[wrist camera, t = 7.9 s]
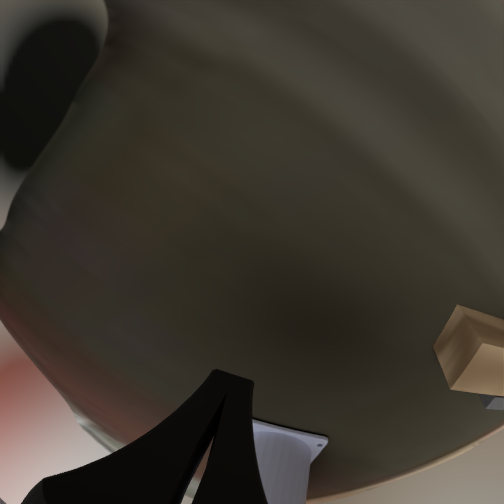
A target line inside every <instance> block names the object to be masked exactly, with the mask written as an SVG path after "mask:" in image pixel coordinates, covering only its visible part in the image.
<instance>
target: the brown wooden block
mask: <svg viewBox="0 0 504 504" xmlns="http://www.w3.org/2000/svg"><path fill="white" fill-rule="evenodd" d="M433 348H434V351H435V353H436V355H437V358H438V360H439V363H440V365H441V367H442V370H443V372H444V375H445V377H446V380H447V382H448V385H449V388H450V389H452V390H458V391H465V392H472V393H480V394H488V395H496V396H504V320H503V319H500V318H497V317H494V316H491V315H488V314H485V313H482V312H479V311H476V310H473V309H470V308H467V307H464V306H461V305H458V304H457V306H456V308H455V310H454V311H453V313H452V315H451V317H450V319H449V320H448V322H447V324H446V326H445V327H444V329H443V331H442V332H441V334H440V336H439V337H438V339H437V341H436V342H435V344H434V346H433Z"/></svg>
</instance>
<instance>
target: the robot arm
mask: <svg viewBox="0 0 504 504" xmlns="http://www.w3.org/2000/svg"><path fill="white" fill-rule="evenodd" d="M253 388H254V383H253V381H252V380H249V379H246V378H243V377H239V376H236V375H233V374H230V373H227V372H224V371H221V370H218V369H215V370H212V372H211V373H210V375H209V376H208V377H207V379H206V380H205V381H204V382H203V384H202V385H201V386H200V387H199V388H198V389H197V390H196V391H195V392H194V393H193V395H192V396H190V397H189V398H188V399H187V400H186V401H185V402H184V403H183V404H182V405H181V406H180V407H179V408H178V409H177V410H176V411H174V412H173V413H172V414H171V415H170V416H168V417H167V418H166V419H165V420H163V421H162V422H161V423H160V424H158V425H157V426H156V427H154V428H153V429H152V430H150V431H149V432H147V433H146V434H144V435H143V436H141V437H140V438H138V439H137V440H135V441H133V442H132V443H130V444H128V445H126V446H125V447H123V448H121V449H119V450H117V451H116V452H114V453H112V454H110V455H108V456H106V457H103V458H101V459H99V460H96V461H94V462H92V463H89V464H87V465H84V466H82V467H79V468H77V469H74V470H71V471H67V472H64V473H60V474H57V475H53V476H50V477H46V478H43V479H42V480H41V481H40V482H39V483H38V484H37V485H35V486H34V487H33V488H32V489H31V491H30V492H29V493H28V495H27V496H26V497H25V499H24V500H23V502H22V503H21V504H181V502H182V499H183V497H184V494H185V492H186V490H187V488H188V485H189V483H190V481H191V479H192V477H193V476H194V474H195V472H196V470H197V468H198V466H199V464H200V462H201V460H202V458H203V456H204V454H205V452H206V450H207V448H208V446H209V445H210V443H211V441H212V439H213V437H214V439H213V442H212V446H211V450H210V454H209V458H208V462H207V465H206V469H205V472H204V474H203V477H202V479H201V482H200V484H199V487H198V489H197V492H196V494H195V497H194V499H193V501H192V504H305V502H306V495H307V487H308V479H309V471H310V464H311V462H312V461H313V460H314V459H315V458H316V457H317V455H318V454H319V453H320V452H321V451H322V449H323V448H324V447H325V446H326V444H327V443H328V438H327V437H325V436H320V435H315V434H310V433H305V432H301V431H296V430H292V429H288V428H284V427H280V426H276V425H272V424H268V423H264V422H261V421H257V420H254V419H252V397H253ZM214 434H215V435H214ZM0 504H6V503H5V502H4V501H3V500H2V499H1V498H0Z"/></svg>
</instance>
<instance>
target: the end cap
mask: <svg viewBox="0 0 504 504" xmlns="http://www.w3.org/2000/svg"><path fill="white" fill-rule="evenodd" d="M479 395H480V397H481V400H482V402H483V404H484V407H485V409H496V410H504V396H496V395H488V394H480V393H479Z"/></svg>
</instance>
